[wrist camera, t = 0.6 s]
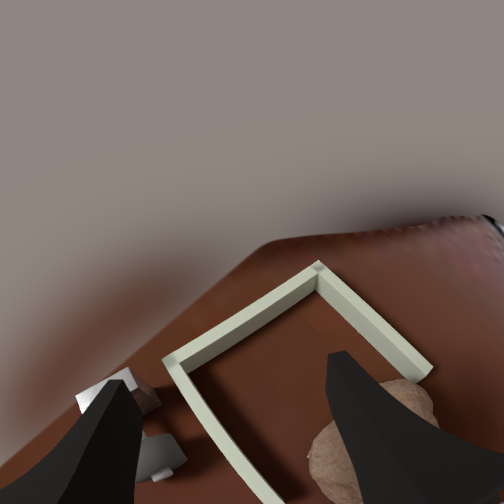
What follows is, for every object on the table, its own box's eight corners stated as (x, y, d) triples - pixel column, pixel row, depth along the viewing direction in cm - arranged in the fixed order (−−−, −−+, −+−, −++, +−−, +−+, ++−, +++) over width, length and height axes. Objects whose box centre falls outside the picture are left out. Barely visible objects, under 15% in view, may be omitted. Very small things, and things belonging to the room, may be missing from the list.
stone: (372, 519, 17) (468, 503, 11) (292, 525, 15) (403, 526, 8) (375, 409, 26) (455, 370, 20) (306, 392, 24) (395, 343, 18)
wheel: (197, 464, 20) (180, 463, 16) (150, 488, 18) (124, 489, 15) (163, 411, 24) (141, 397, 20) (119, 434, 22) (90, 424, 18)
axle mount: (162, 404, 24) (137, 387, 20) (116, 429, 22) (83, 416, 18) (153, 388, 25) (127, 366, 21) (108, 412, 24) (75, 395, 19)
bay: (420, 377, 24) (433, 366, 22) (271, 507, 18) (271, 511, 15) (315, 277, 33) (318, 260, 31) (171, 370, 27) (161, 359, 24)
